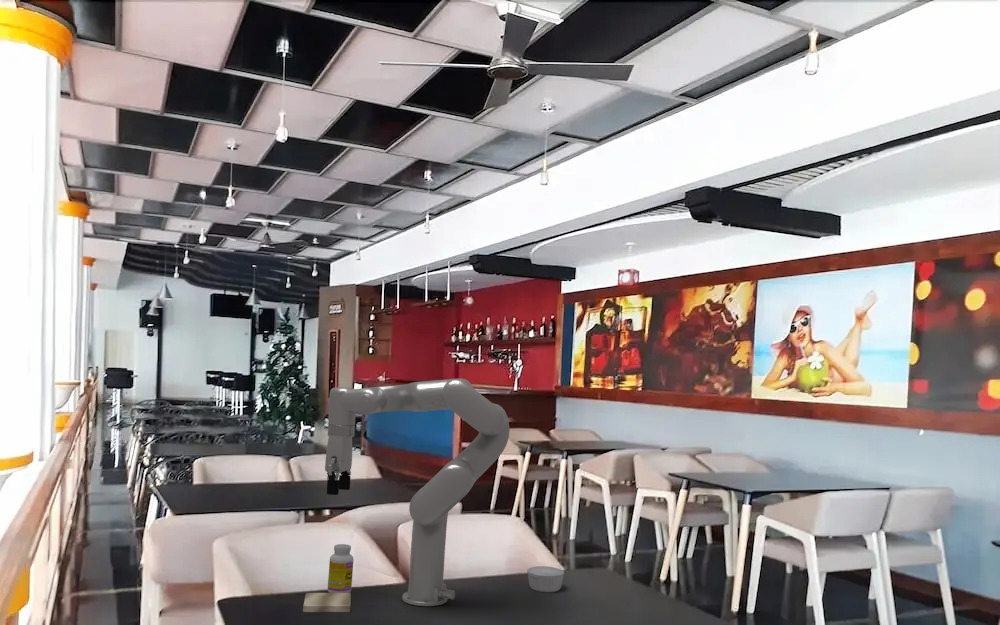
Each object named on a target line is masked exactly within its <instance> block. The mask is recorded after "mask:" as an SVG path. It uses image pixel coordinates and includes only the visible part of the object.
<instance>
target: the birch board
mask: <svg viewBox="0 0 1000 625" xmlns="http://www.w3.org/2000/svg"><path fill="white" fill-rule="evenodd" d="M351 601H352V600H351V592H350V593H329V592H306V593H305V596H304V602H303V606H302V613H350V612H351V603H352V602H351Z"/></svg>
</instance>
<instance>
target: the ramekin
mask: <svg viewBox="0 0 1000 625" xmlns="http://www.w3.org/2000/svg"><path fill="white" fill-rule="evenodd" d="M526 571H527V572H526V574H527V576H528V586H529V587H530V589H531V590H534V591H536V592H542V593H555V592H559V591H560V590H561V589H562V585H563V580H564V576H565V571H564V570H563V569H561V568H557V567H553V566H542V565H541V566H531V567H529V568H528V569H527V570H526Z"/></svg>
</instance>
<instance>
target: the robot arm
mask: <svg viewBox="0 0 1000 625" xmlns="http://www.w3.org/2000/svg"><path fill="white" fill-rule="evenodd" d="M328 400H329V402H328V422H327V423H328V424H327V437H328V438H327V443H326V444H327V445H326V453H325V463H324V464H325V466H324V471H325V472H326V475H327V476H326V479H327V481H326V482H327V483H326V495H328V496H337V495H339V491H340V490H341V491H342V490H343V491H350V489H351V474H352V472H351V469H352V464H353V438H354V437H355V431H356V414H360V415H366V416H367V415H373V414H377V413H378V414H379V413H386V412H388V413H389V412H399V411H400V412H401V411H405V412H406V411H409V412H414V413H418V412H421V413H422V412H431V411H443V410H445V411H448V410H451V411H452V412H453V413H454V414H455V415H457V417H459V418H460V419H462V420H463V421H464V422H465V423H467V424H468V425H469V426H471V427H472V428H473V429H475V430H476V431H477V432H478V434H477V435H476V436H475V438H474V439H473V440H472V441H471V442H470V444H468V445H467V447H466V448H464V449H463V450H462V451H461V452H460V453H459V454H458V455H457V456H456V457H454V458H453V459H452V460H451V461H449V462H447V464H445V465H444V466H443V467H442V468H441V469H440V471H438V472H437V473H436V474H435V475H434V476H433V477H431V479H430V480H429V481H427V483H426V484H424V485H423V486H422V487H421V488H420V489H419V490H417V491H416V492H415V494H414V495H413V496H412V498H411V500H410V502H409V508H408V509H409V511H408V512H409V515H410V517H411V519H412V520H413V521H412V528H411V529H412V531H411V543H410V556H409V557H410V559H409V560H410V561H409V576H408V590H407V591H406V592H403V594H402V597H401V598H402V599H401V600H402V601H403V602H404V603H406V604H409V605H412V606H417V607H419V606H420V607H435V606H441V605H444V604H446V603H447V602H448V600H454V599H455V597H456V592H455V590H454V589H447V583H444V571H445V558H446V557H445V556H446V555H445V554H446V541H447V540H446V539H447V528H448V527H447V526H448V518H449V516H448V515H449V512H450V511H451V510H452V509H453V508H454V507H455V506H456V505H457V504H458V503H459V502H460V501H461V500H462V499H463V498H465V496H466V495H468V493H469V492H470V490H472V488H473V486H474V484H475V483H476V481H477V480H479V478H480V477H482V475H483V474H484V473H485V472H486V471H487V470H488V469H489V468H490V467H491V466H492V465H493V464H494V463H495V462H496V461H497V459H499V457H501V455H502V454H503V452H504V451H505V449H506V447H507V444H508V441H509V437H510V424H509V423H510V422H509V417H508V415H507V413H506V410H505V409H504V408H503V407H502V406H501V405H500V404H496V403H493V402H491V400H489V399H488V398H486V397H485V396H484V395H482V394H481V393H480V392H479V391H478V390H476V389H475V388H474V387H473V385H472V383H471V382H470V381H469V380H467V379H465V378H461V377H460V378H449V379H435V380H424V381H422V380H421V381H414V382H410V383H407V384H406V383H405V384H399V385H398V384H397V385H396V384H395V385H386V386H373V387H372V386H371V387H363V388H353V387H342V386H341V387H333V388H331V389H330V390H329V399H328Z"/></svg>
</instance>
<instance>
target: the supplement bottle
mask: <svg viewBox="0 0 1000 625" xmlns="http://www.w3.org/2000/svg"><path fill="white" fill-rule="evenodd" d="M333 550H334V553H332V555H330V557H329V564H328V565H329V566H328V577H327V579H328V580H327V593H351V592H352V586H353V573H354V572H353V571H354V556H353V555H352V554H351V550H352V546H351V545H349V544H346V543H340V544H335V545H334V546H333Z"/></svg>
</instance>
